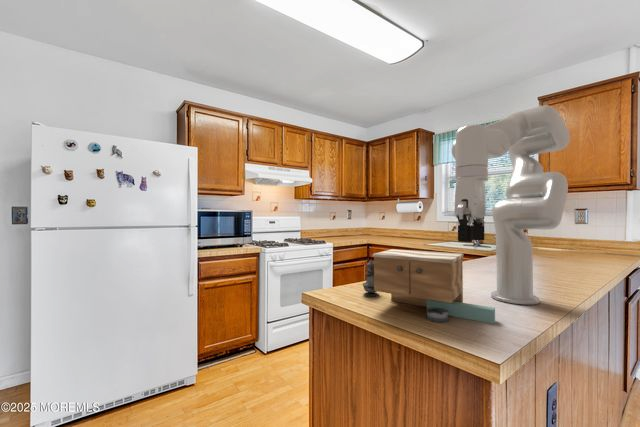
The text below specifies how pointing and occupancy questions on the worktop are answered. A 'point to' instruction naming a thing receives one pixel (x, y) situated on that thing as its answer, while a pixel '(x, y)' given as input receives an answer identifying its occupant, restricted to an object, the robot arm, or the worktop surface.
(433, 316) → the steel token
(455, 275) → the cabinet
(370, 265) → the grey statuette
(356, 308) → the worktop surface
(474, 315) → the teal blade
